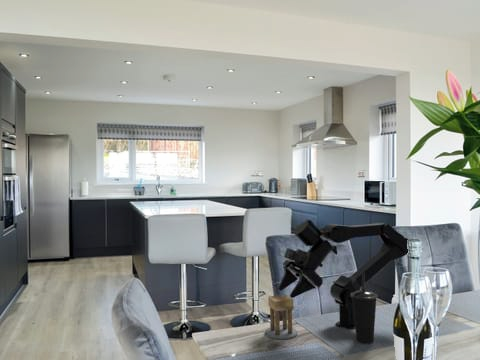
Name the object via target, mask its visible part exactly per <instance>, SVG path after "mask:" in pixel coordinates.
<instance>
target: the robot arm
mask: <svg viewBox="0 0 480 360" xmlns="http://www.w3.org/2000/svg"><path fill="white" fill-rule="evenodd" d="M293 234H294V236H296V238H297V239H298V240H299V241H301V242H302V244H303V245H305V247H309V246H310V248H309V249H308V250H307V251H306V250H305V251H304V250H302V249H300V248H297V250H293V249H291V248H289V247H287V248H286V251H285V252H284V255H283V258H285V259H286V260H285V261H283V263H282V269H283V277H282V279H281V282H280V283H279V285H278V290H279V291H280V292H281V291H283V290H284V289H286V288H288V287H289V286H290V285H292V284H293V283H296V281H297V283H296V284H295V286H294V288H293V290H292V291H291V292H290V294H289V297H290V298H292V299H294V298H296V297H298V296H300V295H302V294H304V293H307V292H309V291H311V290H315V289H317V288H319V289H320V287H321V286H322V285H323V284H324V283H323V282H324V279H323V278H322V277H321V276H320V275H319V274H318V273H317V272H316V271H317V270H318V269H319V268H322V267H323V266H324V264H323V262H324V261H325V259H327V257H328V256H329V255H330V254H332V255H338V250H337V248H338V247H337V245H334V244H333V245H332V244H331V243H330V242H332V243H335V244H341V243H344V242H348V241H350V240H351V239H354V238H363V237H365V238H366V237H373V236H375V237H376V236H378V237H379V239H380V240H381V242H382V245H381V248H380V250H379V252H377V253H376V254H375V255H373V256H372V257H371V258H370V259H369V260H368V261H367V262H365V263H364V264H363V265H362V266H361V267H359V269H357V270H356V271H355V272H354V273H353V274H351V275H349V276H346V275H342V274H340V276H339V277H338V278H337V279H336V280H334V281H332V283H333V284H332V285H331V287H330V296H331V297H332V299H333V300H334V303H335V304H337V305H338V307H339V308H338V309H339V311H338V312H339V313H338V315H339V319H338V321H337V322H335V326H339V327H342V328H343V327H344V328H346V329H353V330H355V322H354V314H353V305H352V297H351V293H352V292H355V291H357V290H362V288H363V285H362V273H365V285H366V284H367V283H368V282H369V281H370V280H372V279H373V277H375V276H376V275H377V274H378V273H379V272H381V271H382V270H383V269H384V268H385V267H386V266H388V265H389V264H390V263H391V262H392V261H396V260H398V259H402V258H403V257H405V256H407V255H408V254H409V253H408V249H407V240H408V238H407V237H405V236H404V235H403V234H402V233H400V232H399V231H397V230H396V229H394V227H392V226H391V225H390V224H389V223H386V222H377V223H368V224H367V223H366V224H365V223H364V224H355V225H344V224H336V223H335V224H334V223H327V224H325V226H324V227H321V228H318V227H317V226H316V225H315V223H313V221H312V220H311V219H306V220H305V221H304V222H301V223H300V224H298V225H297V226H296V227H295V229H294V230H293ZM323 238H324V239H323ZM407 253H408V254H407Z"/></svg>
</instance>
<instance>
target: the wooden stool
mask: <svg viewBox="0 0 480 360" xmlns="http://www.w3.org/2000/svg"><path fill="white" fill-rule="evenodd" d="M267 300H268V301H267V302H268V304H267V305H268V307H269V318H270V319H269V320H270V321H269V323H270V324H269V325H270V326H269V328H270V330H271V331H275V335H277V336H278V335H280V326H281V323H280V312H282V326H283V329H287V327H288V334H292V328H293V310H294V307H295V306H294V298H291V297H290V295H289V296H288V295H287V294H282V295H281V294H279V295H270V296H268V297H267Z"/></svg>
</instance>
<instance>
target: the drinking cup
mask: <svg viewBox="0 0 480 360" xmlns="http://www.w3.org/2000/svg"><path fill="white" fill-rule="evenodd" d="M362 285H363V286H362V289H361V290H357V291H355V292H352V293H351V297H352V305H353V314H354V322H355V328H354V330H355V339H356V342H358V343H360V344H366V345H367V344H373V343H374V337H375V324H376V323H375V321H376V310H377V299H378V294H377V293H375V292H373V291H371V290H367V289H366V284H365V273H362Z"/></svg>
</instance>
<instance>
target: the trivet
mask: <svg viewBox="0 0 480 360" xmlns="http://www.w3.org/2000/svg"><path fill="white" fill-rule="evenodd" d="M264 334H265V336H266V335H267V337H268V338H270V339H275V340H291V339H293V338H296V337H297V336H298V330H297V329H296V328H294V327H292V334H288V326H287V329H283V325H280V335H278V336H277V335H275V331H271V330H270V327H268V328H266V329H265V330H264Z"/></svg>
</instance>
